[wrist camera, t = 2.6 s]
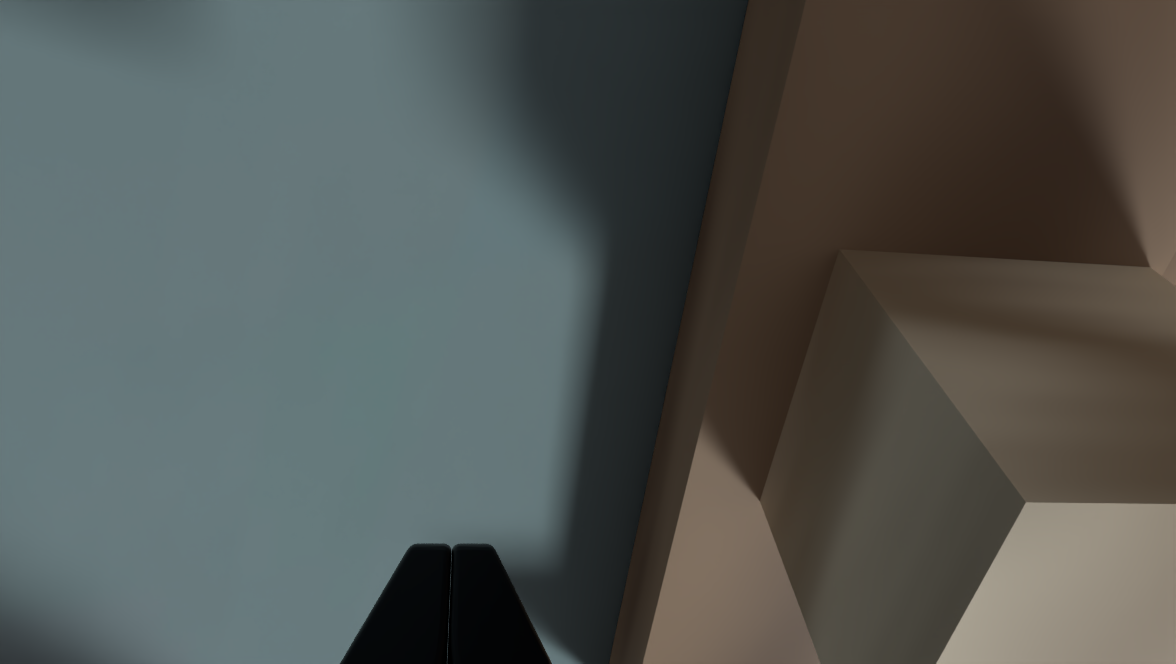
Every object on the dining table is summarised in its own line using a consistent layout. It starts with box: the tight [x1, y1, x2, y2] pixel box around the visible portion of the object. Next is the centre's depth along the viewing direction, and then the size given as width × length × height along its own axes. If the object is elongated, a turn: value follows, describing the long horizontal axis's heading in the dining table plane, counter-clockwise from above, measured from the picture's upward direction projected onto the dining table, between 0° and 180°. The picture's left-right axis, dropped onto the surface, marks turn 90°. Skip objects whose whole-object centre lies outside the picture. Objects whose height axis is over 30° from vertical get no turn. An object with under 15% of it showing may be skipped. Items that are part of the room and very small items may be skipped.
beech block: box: [760, 249, 1176, 664], centre depth 10 cm, size 4×4×4 cm
